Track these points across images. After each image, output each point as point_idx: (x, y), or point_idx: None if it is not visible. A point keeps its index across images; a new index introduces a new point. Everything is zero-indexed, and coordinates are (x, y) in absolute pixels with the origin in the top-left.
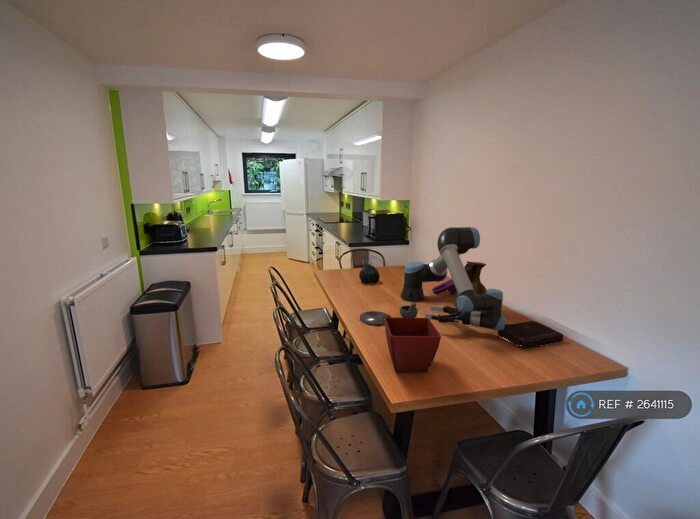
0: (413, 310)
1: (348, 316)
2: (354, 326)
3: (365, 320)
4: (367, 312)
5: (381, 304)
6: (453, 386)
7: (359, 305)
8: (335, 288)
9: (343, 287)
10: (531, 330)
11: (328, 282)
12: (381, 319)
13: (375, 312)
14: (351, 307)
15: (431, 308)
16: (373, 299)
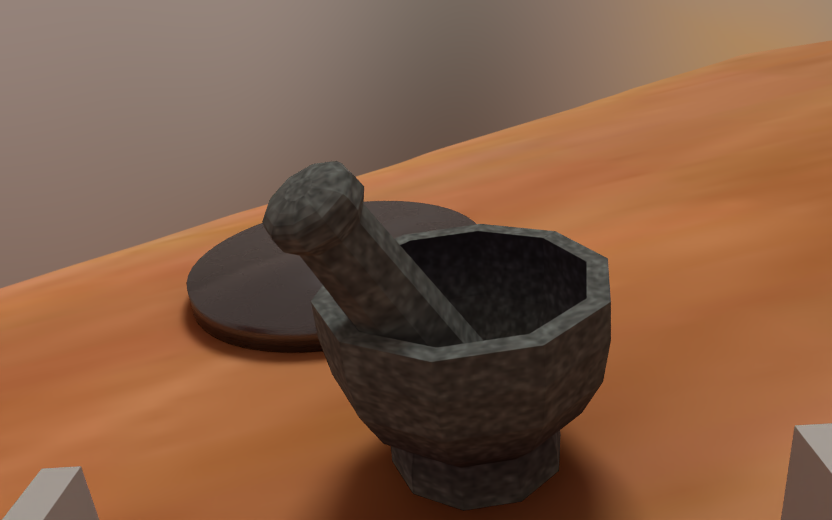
0: (366, 324)
1: None
2: (154, 254)
3: (228, 243)
4: (410, 207)
5: (730, 205)
6: None
7: (571, 167)
8: (737, 74)
9: (797, 74)
10: None
11: (789, 49)
12: (290, 286)
13: (443, 226)
14: (499, 164)
15: (791, 511)
16: (780, 160)
